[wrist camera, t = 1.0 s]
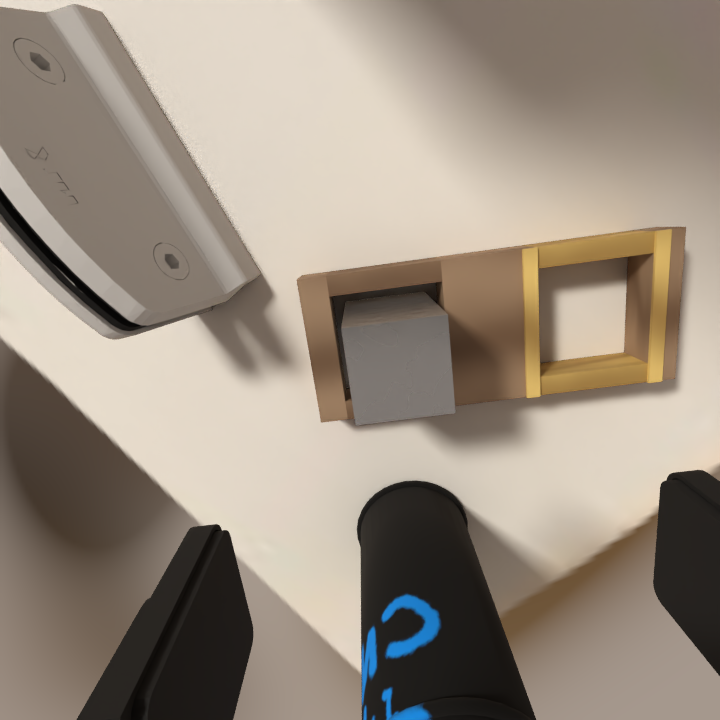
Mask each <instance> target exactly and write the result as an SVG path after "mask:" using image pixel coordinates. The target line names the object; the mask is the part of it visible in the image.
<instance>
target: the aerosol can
mask: <svg viewBox="0 0 720 720" xmlns="http://www.w3.org/2000/svg"><path fill="white" fill-rule="evenodd" d="M357 535H358V540H359V543H360V546H361V659H362V720H536V718H535V715H534V712H533V710H532V707H531V704H530V701H529V698H528V696H527V693H526V690H525V687H524V685H523V682H522V679H521V676H520V674H519V671H518V668H517V665H516V663H515V660H514V657H513V654H512V651H511V649H510V646H509V643H508V640H507V638H506V635H505V632H504V630H503V627H502V624H501V621H500V618H499V616H498V613H497V610H496V607H495V604H494V602H493V599H492V596H491V593H490V591H489V588H488V585H487V582H486V580H485V577H484V574H483V571H482V569H481V566H480V563H479V560H478V557H477V555H476V552H475V549H474V546H473V544H472V541H471V538H470V535H469V533H468V530H467V518H466V514H465V511H464V509H463V507H462V505H461V504H460V503H459V501H458V500H457V499H456V498H455V497H454V496H453V495H452V494H451V493H450V492H448V491H447V490H446V489H444V488H442V487H440V486H438V485H435V484H432V483H428V482H422V481H404V482H400V483H396V484H393V485H390V486H388V487H386V488H384V489H382V490H381V491H379V492H378V493H376V494H375V495H374V496H373V497H372V498H371V499H370V500H369V501H368V502H367V503H366V505H365V506H364V508H363V509H362V512H361V514H360V517H359V519H358V525H357Z"/></svg>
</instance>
